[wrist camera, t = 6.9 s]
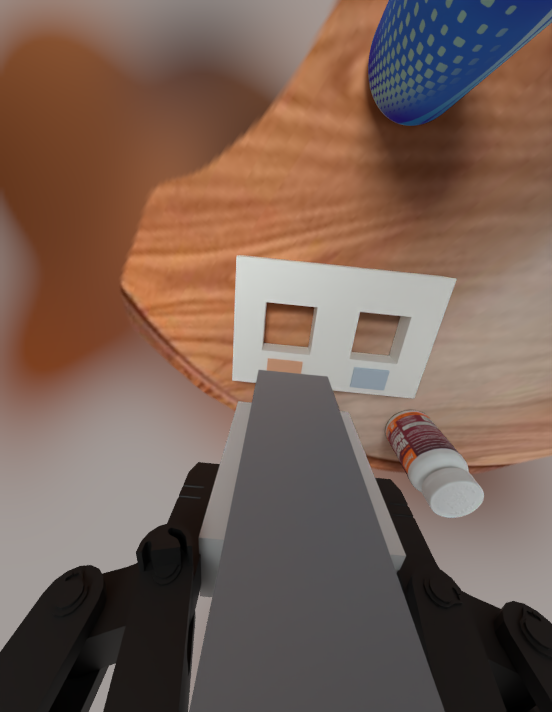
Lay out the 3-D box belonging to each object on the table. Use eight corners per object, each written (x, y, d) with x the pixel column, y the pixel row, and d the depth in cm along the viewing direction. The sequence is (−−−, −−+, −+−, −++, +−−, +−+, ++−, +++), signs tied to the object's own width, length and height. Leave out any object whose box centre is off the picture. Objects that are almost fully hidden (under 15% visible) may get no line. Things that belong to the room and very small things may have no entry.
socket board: (240, 255, 28) (235, 256, 25) (442, 276, 28) (458, 279, 26) (235, 371, 33) (231, 381, 31) (405, 388, 34) (415, 399, 31)
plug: (258, 369, 15) (164, 833, 3) (327, 376, 15) (494, 856, 3) (254, 426, 16) (179, 881, 5) (316, 432, 16) (402, 897, 5)
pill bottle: (380, 414, 35) (420, 485, 25) (427, 403, 34) (489, 471, 24) (387, 448, 38) (427, 526, 27) (432, 438, 37) (490, 515, 26)
